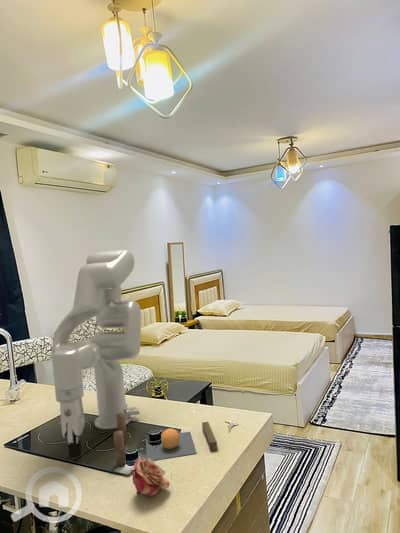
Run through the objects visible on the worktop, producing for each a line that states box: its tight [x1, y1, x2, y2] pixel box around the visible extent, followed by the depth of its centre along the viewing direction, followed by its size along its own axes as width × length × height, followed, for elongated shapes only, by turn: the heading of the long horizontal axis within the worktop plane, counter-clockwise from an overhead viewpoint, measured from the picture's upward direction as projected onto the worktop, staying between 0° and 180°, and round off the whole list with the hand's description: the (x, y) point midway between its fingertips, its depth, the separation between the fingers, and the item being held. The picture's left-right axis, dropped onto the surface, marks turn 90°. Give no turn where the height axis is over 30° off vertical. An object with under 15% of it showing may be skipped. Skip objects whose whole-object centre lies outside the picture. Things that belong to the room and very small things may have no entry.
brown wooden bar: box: [201, 421, 218, 452], centre depth 119 cm, size 2×14×2 cm, turn 9°
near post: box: [113, 430, 127, 468], centre depth 108 cm, size 3×3×9 cm
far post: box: [116, 413, 128, 446], centre depth 121 cm, size 3×3×9 cm
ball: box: [160, 428, 180, 449], centre depth 115 cm, size 6×6×6 cm
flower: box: [130, 457, 171, 500], centre depth 94 cm, size 10×9×8 cm
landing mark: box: [145, 431, 197, 462], centre depth 117 cm, size 14×14×1 cm
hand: (75, 455), depth 113 cm, fingers closed
